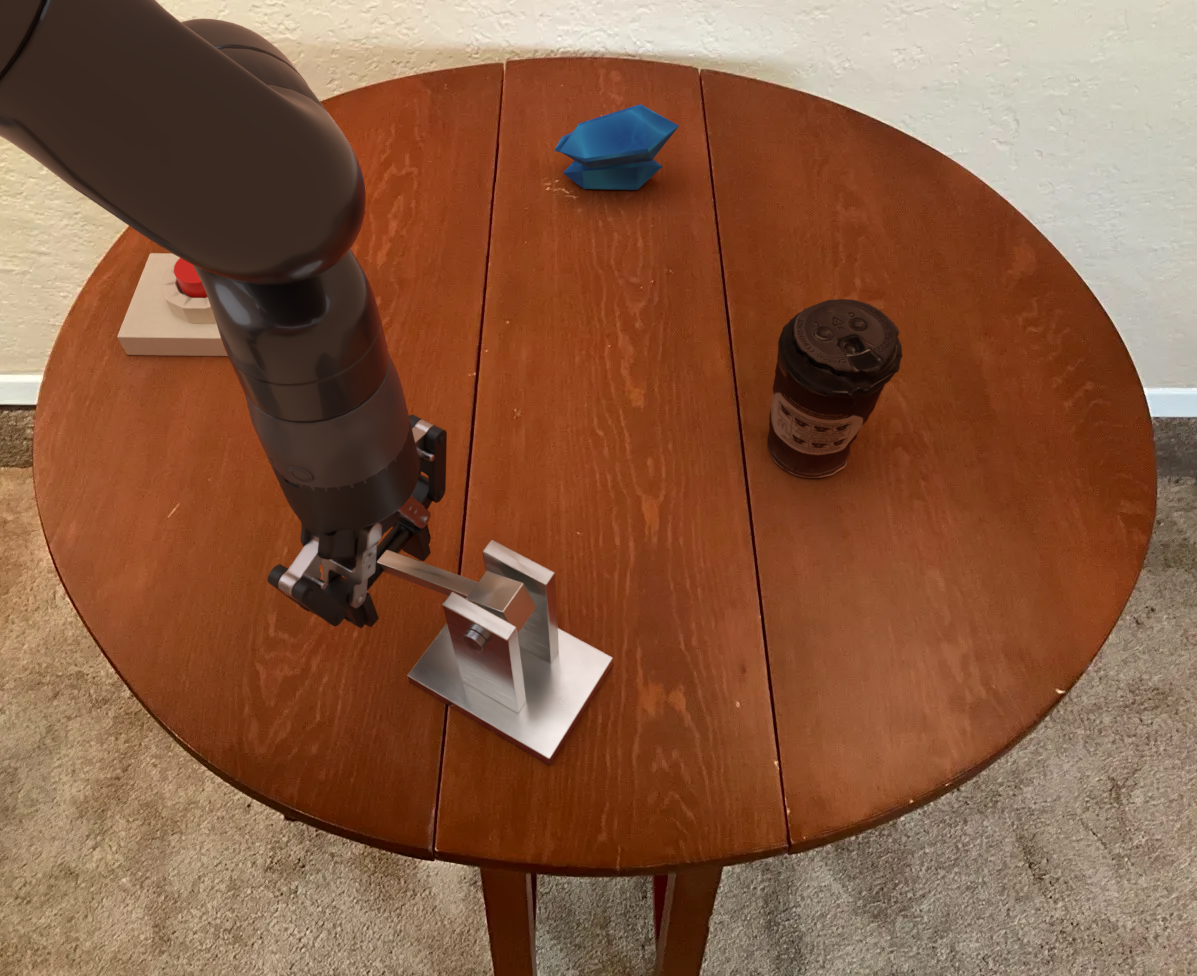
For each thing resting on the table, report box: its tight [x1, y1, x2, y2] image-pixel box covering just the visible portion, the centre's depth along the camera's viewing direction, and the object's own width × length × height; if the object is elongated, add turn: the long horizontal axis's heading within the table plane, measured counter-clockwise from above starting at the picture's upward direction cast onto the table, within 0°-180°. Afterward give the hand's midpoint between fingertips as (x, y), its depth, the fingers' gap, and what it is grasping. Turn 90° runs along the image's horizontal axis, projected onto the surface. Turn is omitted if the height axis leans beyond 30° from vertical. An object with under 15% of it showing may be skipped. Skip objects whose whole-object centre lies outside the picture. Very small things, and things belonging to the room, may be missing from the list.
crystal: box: [553, 103, 680, 191], centre depth 90 cm, size 7×9×12 cm
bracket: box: [406, 539, 614, 766], centre depth 59 cm, size 11×8×12 cm
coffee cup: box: [766, 298, 903, 479], centre depth 70 cm, size 9×8×13 cm
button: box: [174, 258, 207, 298], centre depth 79 cm, size 4×4×2 cm
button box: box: [117, 252, 228, 357], centre depth 81 cm, size 13×10×4 cm
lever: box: [367, 524, 536, 633], centre depth 59 cm, size 12×5×2 cm, turn 60°
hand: (389, 583), depth 64 cm, fingers closed on lever, 5 cm apart
